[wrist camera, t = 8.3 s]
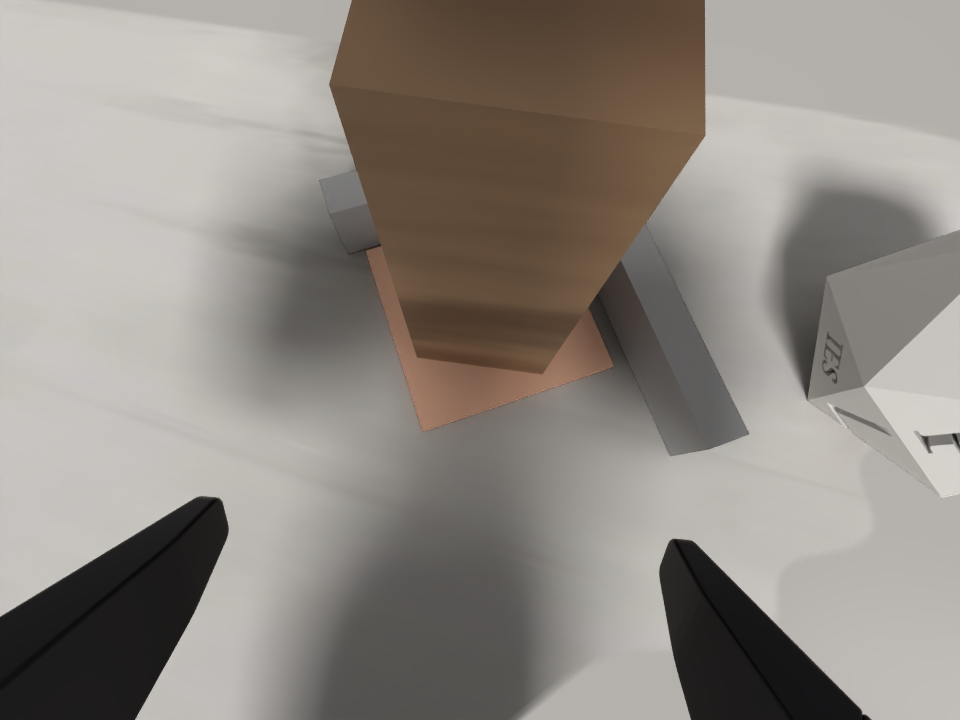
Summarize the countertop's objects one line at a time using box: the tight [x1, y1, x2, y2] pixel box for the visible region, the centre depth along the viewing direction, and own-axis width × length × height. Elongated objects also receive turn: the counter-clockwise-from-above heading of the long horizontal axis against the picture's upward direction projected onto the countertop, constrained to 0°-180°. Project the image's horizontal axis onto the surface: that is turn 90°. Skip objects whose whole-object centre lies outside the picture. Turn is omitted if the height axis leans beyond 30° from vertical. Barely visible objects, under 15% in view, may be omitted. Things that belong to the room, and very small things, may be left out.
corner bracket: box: [319, 170, 749, 456], centre depth 18 cm, size 14×11×3 cm
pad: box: [366, 246, 614, 432], centre depth 20 cm, size 8×8×1 cm
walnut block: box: [329, 0, 705, 374], centre depth 13 cm, size 5×5×13 cm
